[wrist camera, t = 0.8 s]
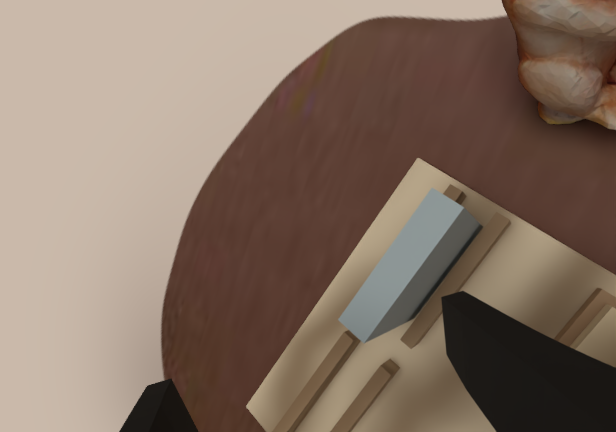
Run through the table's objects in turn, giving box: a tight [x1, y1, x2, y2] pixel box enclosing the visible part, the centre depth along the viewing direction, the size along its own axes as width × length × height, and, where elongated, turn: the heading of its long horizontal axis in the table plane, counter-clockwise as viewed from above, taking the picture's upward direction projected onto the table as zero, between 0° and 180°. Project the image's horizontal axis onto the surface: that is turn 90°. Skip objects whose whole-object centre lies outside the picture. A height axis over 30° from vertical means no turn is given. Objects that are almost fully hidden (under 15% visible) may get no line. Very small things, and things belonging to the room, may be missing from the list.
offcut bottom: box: [554, 288, 616, 346], centre depth 19 cm, size 6×8×2 cm
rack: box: [246, 158, 616, 432], centre depth 23 cm, size 20×22×3 cm
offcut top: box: [569, 304, 616, 367], centre depth 18 cm, size 5×7×2 cm
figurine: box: [502, 0, 616, 130], centre depth 16 cm, size 6×8×15 cm
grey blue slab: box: [338, 188, 483, 343], centre depth 20 cm, size 2×7×9 cm, turn 142°
